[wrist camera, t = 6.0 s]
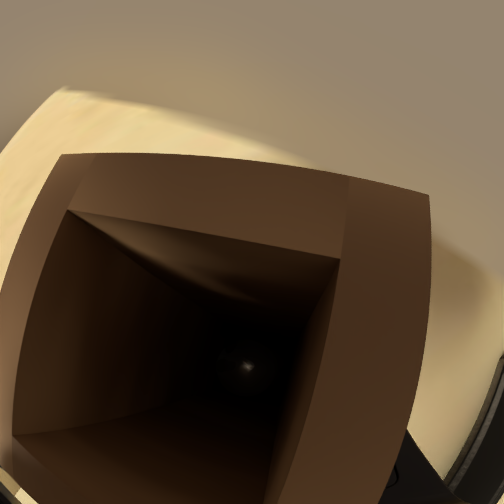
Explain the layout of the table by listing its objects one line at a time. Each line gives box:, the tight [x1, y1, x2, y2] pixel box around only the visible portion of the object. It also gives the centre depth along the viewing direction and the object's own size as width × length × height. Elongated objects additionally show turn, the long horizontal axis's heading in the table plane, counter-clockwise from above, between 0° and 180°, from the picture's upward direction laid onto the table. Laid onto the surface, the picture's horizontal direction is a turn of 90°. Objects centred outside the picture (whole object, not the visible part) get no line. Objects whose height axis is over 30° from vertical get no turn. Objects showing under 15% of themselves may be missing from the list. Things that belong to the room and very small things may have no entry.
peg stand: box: [212, 325, 297, 407], centre depth 13 cm, size 11×11×4 cm
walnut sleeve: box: [0, 153, 431, 504], centre depth 8 cm, size 6×6×12 cm
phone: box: [443, 355, 504, 504], centre depth 9 cm, size 8×1×15 cm
